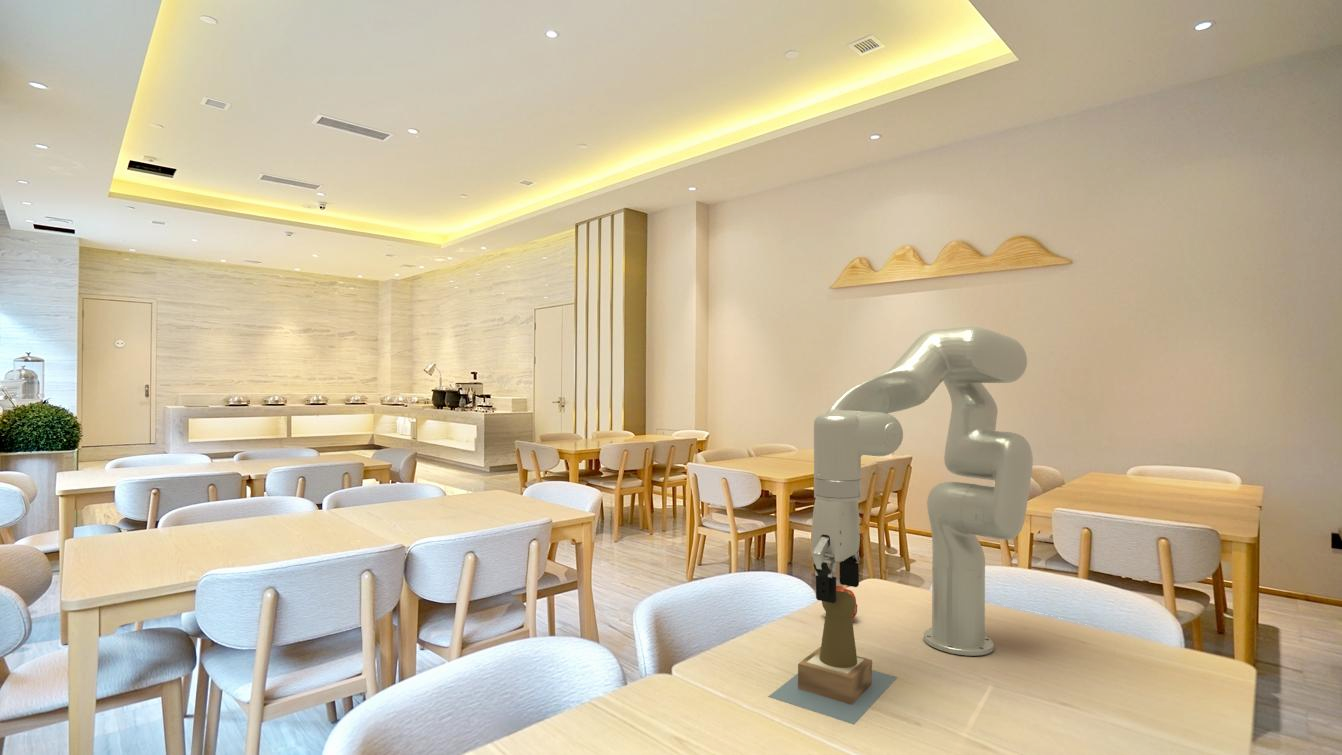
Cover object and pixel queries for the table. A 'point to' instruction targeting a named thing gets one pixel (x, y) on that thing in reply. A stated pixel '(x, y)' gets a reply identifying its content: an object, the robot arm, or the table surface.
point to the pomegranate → (839, 588)
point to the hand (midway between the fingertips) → (838, 592)
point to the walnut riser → (834, 678)
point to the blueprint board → (831, 706)
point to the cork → (839, 632)
